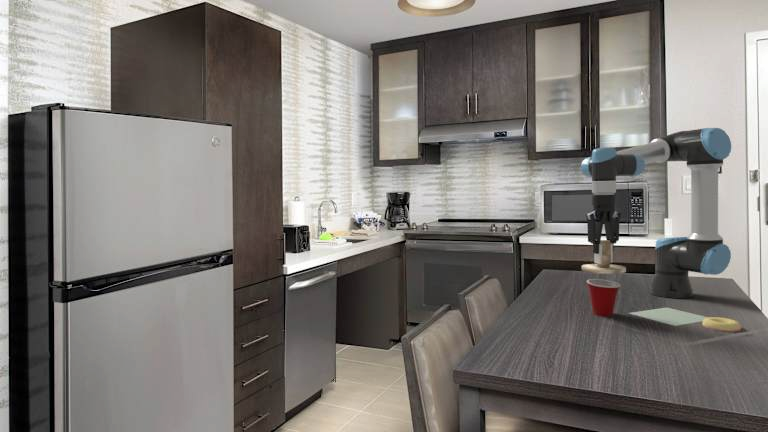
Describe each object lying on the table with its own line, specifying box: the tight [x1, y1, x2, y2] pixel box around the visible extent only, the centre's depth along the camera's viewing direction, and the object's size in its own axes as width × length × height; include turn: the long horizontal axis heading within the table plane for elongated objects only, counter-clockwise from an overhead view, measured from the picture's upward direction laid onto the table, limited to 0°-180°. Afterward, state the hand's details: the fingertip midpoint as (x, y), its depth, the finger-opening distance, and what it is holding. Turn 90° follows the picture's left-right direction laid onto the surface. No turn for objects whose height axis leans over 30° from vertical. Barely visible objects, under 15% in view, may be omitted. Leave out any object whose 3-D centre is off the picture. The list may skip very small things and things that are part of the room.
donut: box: [701, 316, 742, 333], centre depth 159 cm, size 10×5×9 cm
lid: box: [581, 239, 627, 275], centre depth 177 cm, size 14×14×10 cm
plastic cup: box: [586, 278, 622, 317], centre depth 178 cm, size 11×11×12 cm
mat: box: [628, 307, 709, 327], centre depth 173 cm, size 18×18×1 cm
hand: (603, 262), depth 177 cm, fingers closed on lid, 4 cm apart
